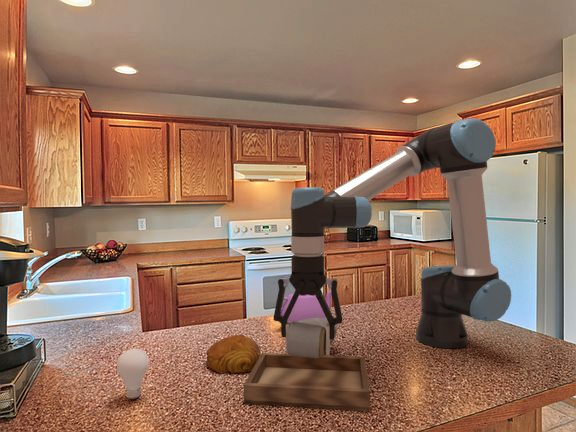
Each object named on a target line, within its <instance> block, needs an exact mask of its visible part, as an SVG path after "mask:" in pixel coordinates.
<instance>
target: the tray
mask: <svg viewBox="0 0 576 432" xmlns="http://www.w3.org/2000/svg"><path fill="white" fill-rule="evenodd" d="M368 377H369V376H368V370H367V364H366V356H349V355H348V356H346V355H345V356H344V355H326V354H324V356H323V357H322V358H309V357H299V356H290V355H289V354H288V353H278V352H277V353H275V352H274V353H271V352H270V353H269V352H260V357H259V359H258V361H257V362H256V364H255V366H254V368H253V369H252V370H251V371H250V373H249V375H248V377H247V378H246V379H245V382H244V384H243V404H244V405H260V406H275V407H291V408H292V407H295V408H308V409H309V408H310V409H322V410H323V409H324V410H325V409H326V410H338V411H339V410H343V411H358V412H359V411H360V412H370V411H371V399H370V398H371V394H370V391H371V390H370V385H369V379H368Z"/></svg>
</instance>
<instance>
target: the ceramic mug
mask: <svg viewBox="0 0 576 432" xmlns="http://www.w3.org/2000/svg"><path fill="white" fill-rule="evenodd" d="M325 350H326V329H325V328H324V327H322V326H319V325H314V324H307V323H302V322H296V321H293V322H292V323H291V325H290V327H289V332H288V338H287V352H288V353H287V354H289V355H290V356H299V357H309V358H322V357H323V356H324V355H326V351H325Z"/></svg>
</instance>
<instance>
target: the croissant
mask: <svg viewBox="0 0 576 432" xmlns="http://www.w3.org/2000/svg"><path fill="white" fill-rule="evenodd" d="M260 355H261V350H260V347H259V344H257V342H256V341H255V340H254V339H252V338H251V337H248V336H246V335H243V334H234V335H231V336H228V337H224V338H221V339H219V340H218V341H216V342H214V343H213V344H212V345H211V346H210V347H209V348H208V349H207V351H206V361H207V365H208V366H209V367H210V369H211V370H213V371H214V372H215V371H216V372H218V373H219V374H224V375H225V374H228V373H229V372H230V373H232V374H235V373H236V374H237V373H238V374H239V373H248V372H251V371H252V369H253V368H254V366H255V364H256V362H257V361H258V359H259V357H260Z"/></svg>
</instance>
